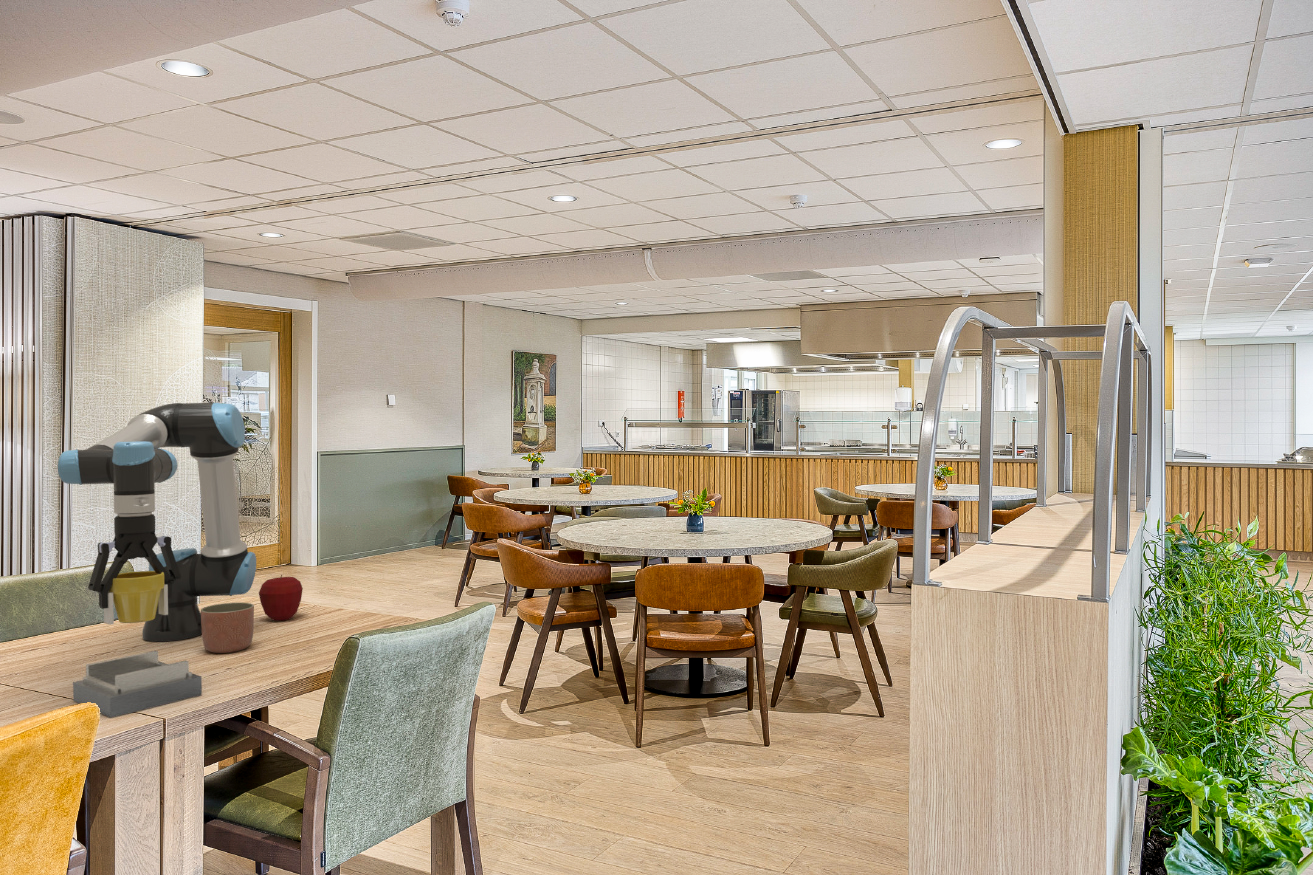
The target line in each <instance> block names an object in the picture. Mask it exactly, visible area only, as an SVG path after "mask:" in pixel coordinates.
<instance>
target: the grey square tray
mask: <svg viewBox="0 0 1313 875" xmlns="http://www.w3.org/2000/svg"><path fill="white" fill-rule="evenodd" d="M189 668H190V667H189V661H188V660H183V661H177V662H172V663H166V662H163V661H159V651H158V650H152V651H147V652H142V653H136V654H132V655H131V654H130V655H128V656H127V655H126V656H122V657H117V658H113V659H107V660H103V661H98V662H92V663H87V664H85V672H86V673H85V676H83V677H82V678H83V679H82V680H76V681H73V682H72V693H73V695H72V696H73V697H72V700H73V702H74V703H77V704H79V703H87V702H91V703H96V704H97V705H98V707H99V708H100V712H101V713H100V715H104V716H105V717H108V718H109V719H110V718H111V719H112V718H115V717H119V716H123V715H126V714H127V715H128V714H131V713H136V712H140V711H144V710H147V709H151V708H155V707H160V706H163V705H168V704H172V703H175V702H180V701H183V700H188V699H191V698H196V697H200V696H202V695H203V691H202V690H203V689H202V676H201V675H199V674H195V673H193V672H191V671H190V669H189Z"/></svg>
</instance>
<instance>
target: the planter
mask: <svg viewBox="0 0 1313 875" xmlns="http://www.w3.org/2000/svg"><path fill="white" fill-rule="evenodd" d="M200 613H201V628H202V634H201V637H202V644H203V647H204V649H205V650H207V651H208V652H210V653H214V654H229V653H234V652H239V651H242V650H245V649H247V648H248V647H249V646H250V645H251V644H252V642H253V637H254V624H255V623H254V622H255V621H254V620H255V618H254V617H255V605H254V604H253V603H251V602H226V603H225V602H223V603H218V604H212V605H207V606H204V607H202V608H201V609H200Z"/></svg>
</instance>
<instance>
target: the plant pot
mask: <svg viewBox="0 0 1313 875" xmlns="http://www.w3.org/2000/svg"><path fill="white" fill-rule="evenodd" d="M163 588H164V572H162V573H161V574H157V573H156V572H155V571H149V570H143V571H142V570H141V571H139V570H138V571H129V572H121V573H120V572H119V574H118V576H117V578H113V585H112V586H111V588H110V590H109V592H112V593H113V606H114V608H115V609H114V610H115V612H116V615H117V621H118V622H119V623H120V624H121V623H122V624H137V623H139V624H140V623H145V622H146V621H150V620H153V619H155V615H156V610H157V606H158V601H159V596H160V592H161V589H163Z"/></svg>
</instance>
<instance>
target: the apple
mask: <svg viewBox="0 0 1313 875" xmlns="http://www.w3.org/2000/svg"><path fill="white" fill-rule="evenodd" d="M282 576H283V575H282V574H281V575H280V577H272V578H269V579H267V580H265V581H264V582H263V583H262V584H261V586H260V589H259V591H258V596H259V601H260V604H261V608H262V609H263V613H264V614H265V615H266V617H268V618H270V619H272V620H273V621H277V622H279V621H281V622H283V621H290V620H291V619H292V618H293V617H294V616H295V615H296V614H297V613H298V611H299V607H300V604H301V601H302V596H303V589H304V588H303V584H302V582H301V581H300V580H299V579H298V578H296V577H294V576H283V577H282Z"/></svg>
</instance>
